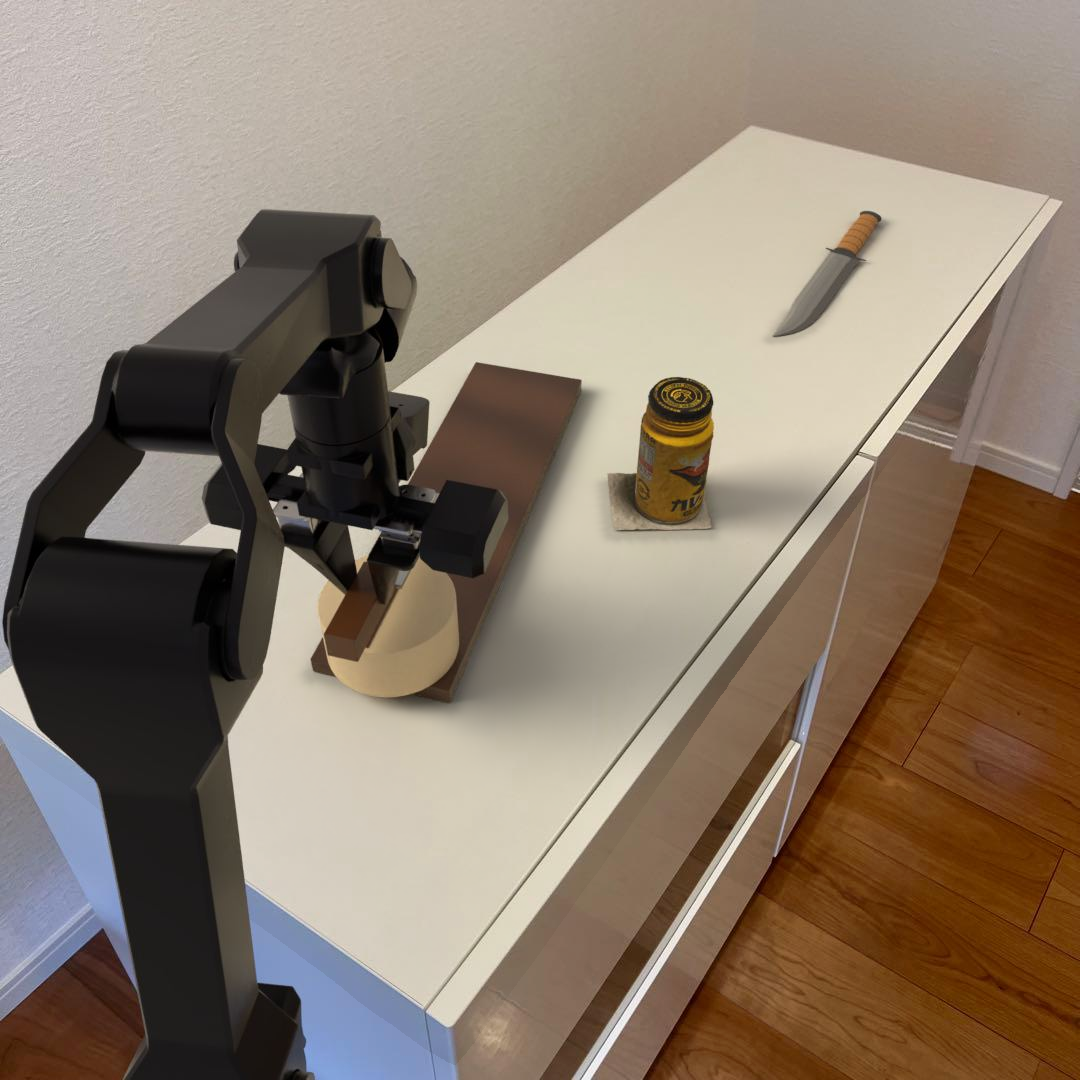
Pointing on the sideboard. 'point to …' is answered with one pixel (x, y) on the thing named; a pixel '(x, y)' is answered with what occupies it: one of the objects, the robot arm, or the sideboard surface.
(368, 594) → the cake knife
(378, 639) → the cake
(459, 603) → the serving board
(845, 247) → the knife
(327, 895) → the sideboard surface
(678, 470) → the condiment
